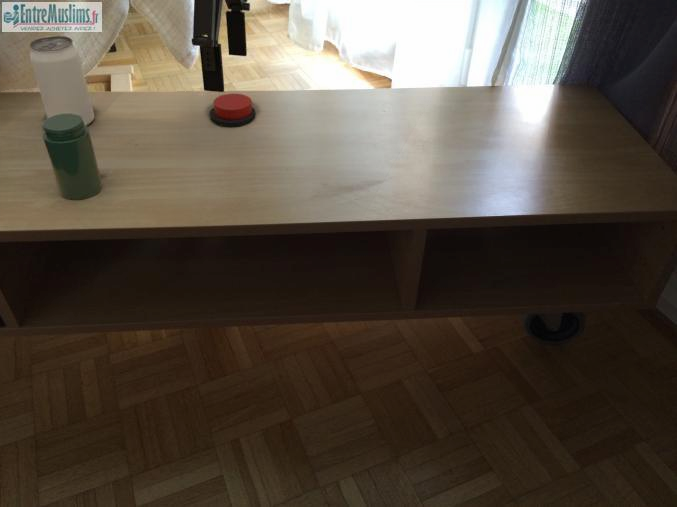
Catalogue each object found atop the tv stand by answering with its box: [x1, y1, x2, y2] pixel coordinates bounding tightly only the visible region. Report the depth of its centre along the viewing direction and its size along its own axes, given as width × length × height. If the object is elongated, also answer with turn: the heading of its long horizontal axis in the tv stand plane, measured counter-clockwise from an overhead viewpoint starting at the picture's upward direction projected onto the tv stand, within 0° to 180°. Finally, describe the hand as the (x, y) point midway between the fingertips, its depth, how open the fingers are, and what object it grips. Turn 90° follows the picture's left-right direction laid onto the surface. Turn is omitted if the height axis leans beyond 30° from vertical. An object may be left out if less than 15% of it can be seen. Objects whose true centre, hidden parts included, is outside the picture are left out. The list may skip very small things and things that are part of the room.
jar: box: [42, 114, 103, 201], centre depth 75 cm, size 5×5×9 cm
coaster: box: [209, 106, 256, 128], centre depth 95 cm, size 7×7×1 cm
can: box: [29, 35, 95, 127], centre depth 89 cm, size 6×6×12 cm
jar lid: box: [213, 93, 253, 120], centre depth 94 cm, size 6×6×2 cm
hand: (226, 71), depth 91 cm, fingers open, 13 cm apart
